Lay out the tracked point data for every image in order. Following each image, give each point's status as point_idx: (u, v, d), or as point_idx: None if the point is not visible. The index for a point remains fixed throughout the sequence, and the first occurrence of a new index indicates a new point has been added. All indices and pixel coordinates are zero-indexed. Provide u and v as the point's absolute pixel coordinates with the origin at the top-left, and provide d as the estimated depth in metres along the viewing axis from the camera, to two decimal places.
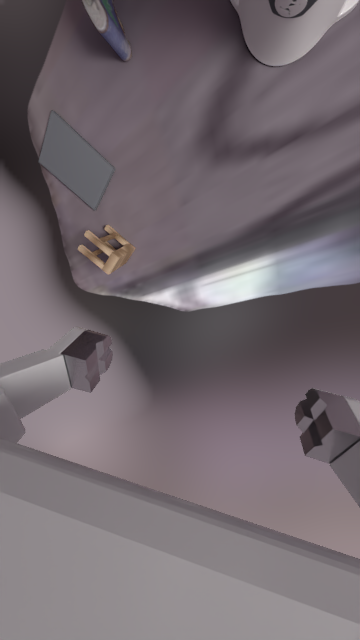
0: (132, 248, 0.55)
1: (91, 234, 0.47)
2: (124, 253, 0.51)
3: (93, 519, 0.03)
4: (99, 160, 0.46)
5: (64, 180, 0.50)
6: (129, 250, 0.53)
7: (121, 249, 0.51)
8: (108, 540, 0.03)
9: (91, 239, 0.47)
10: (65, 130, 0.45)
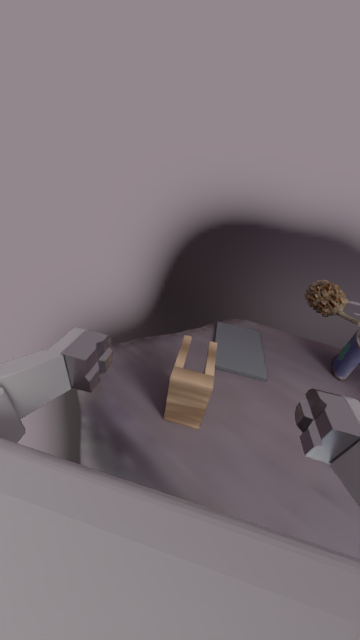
0: (200, 422, 0.31)
1: None
2: None
3: (93, 519, 0.03)
4: (261, 365, 0.43)
5: (218, 338, 0.49)
6: None
7: None
8: (108, 540, 0.03)
9: (211, 349, 0.31)
10: (256, 339, 0.50)
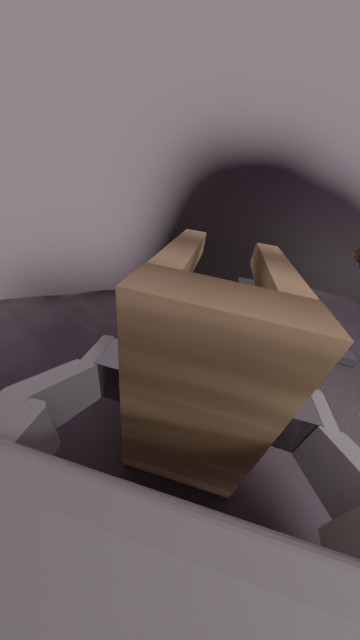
0: None
1: None
2: None
3: (93, 519, 0.03)
4: None
5: None
6: None
7: None
8: (108, 540, 0.03)
9: (269, 251, 0.10)
10: None
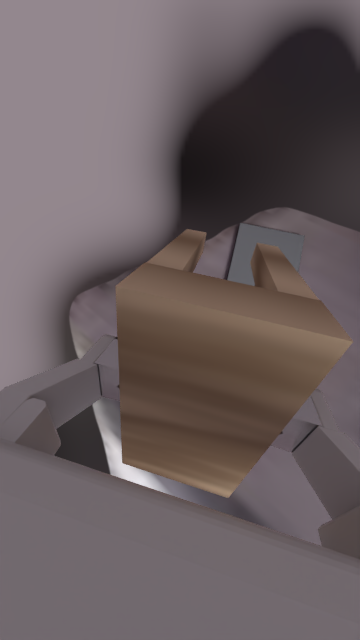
0: None
1: None
2: None
3: (93, 519, 0.03)
4: None
5: (236, 259, 0.35)
6: None
7: None
8: (108, 540, 0.03)
9: (269, 251, 0.10)
10: (294, 254, 0.34)
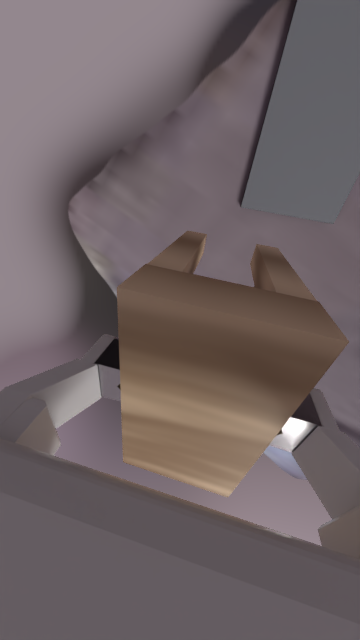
0: None
1: None
2: None
3: (93, 519, 0.03)
4: (342, 189, 0.23)
5: (276, 105, 0.20)
6: None
7: None
8: (108, 540, 0.03)
9: (269, 253, 0.11)
10: None
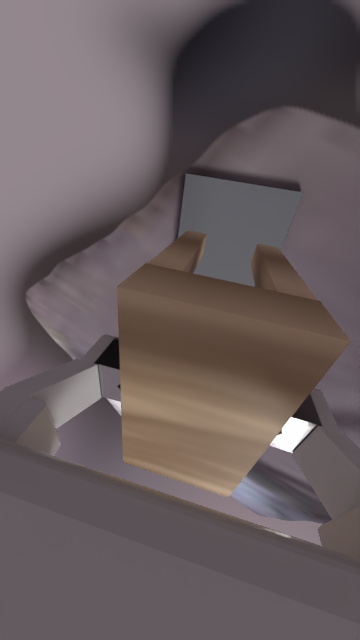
0: None
1: None
2: None
3: (93, 519, 0.03)
4: None
5: None
6: None
7: None
8: (108, 540, 0.03)
9: (269, 252, 0.10)
10: (274, 234, 0.21)
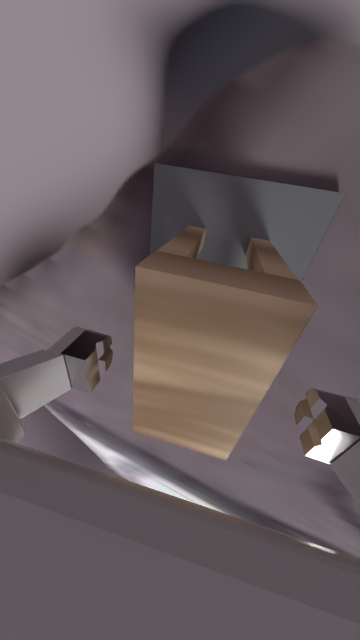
0: None
1: None
2: None
3: (93, 519, 0.03)
4: None
5: None
6: None
7: None
8: (108, 540, 0.03)
9: (261, 244, 0.12)
10: (293, 257, 0.13)
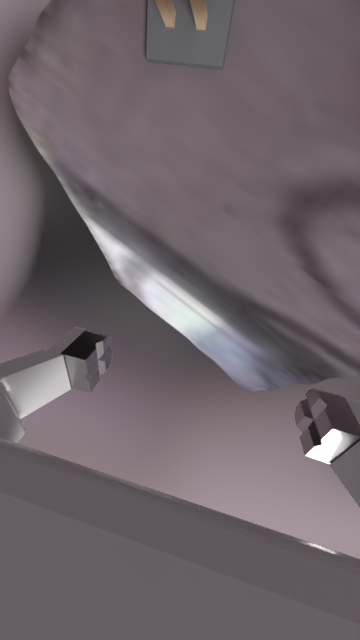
0: None
1: None
2: None
3: (93, 519, 0.03)
4: (222, 26, 0.26)
5: None
6: None
7: None
8: (108, 540, 0.03)
9: None
10: None
